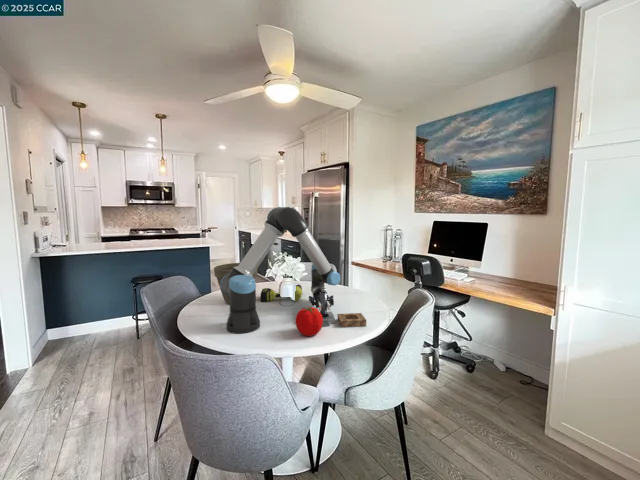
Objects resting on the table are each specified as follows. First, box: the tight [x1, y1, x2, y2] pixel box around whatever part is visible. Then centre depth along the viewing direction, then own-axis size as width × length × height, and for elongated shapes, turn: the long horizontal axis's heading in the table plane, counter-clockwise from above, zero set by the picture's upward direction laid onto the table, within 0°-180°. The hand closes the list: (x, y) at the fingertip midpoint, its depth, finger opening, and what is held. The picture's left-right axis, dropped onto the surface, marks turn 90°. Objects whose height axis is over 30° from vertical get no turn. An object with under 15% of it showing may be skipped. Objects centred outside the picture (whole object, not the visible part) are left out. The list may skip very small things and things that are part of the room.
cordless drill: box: [260, 284, 303, 303], centre depth 189 cm, size 7×25×25 cm
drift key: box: [322, 323, 331, 328], centre depth 139 cm, size 8×2×1 cm, turn 111°
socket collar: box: [322, 311, 336, 325], centre depth 147 cm, size 10×10×2 cm
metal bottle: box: [319, 287, 328, 317], centre depth 146 cm, size 4×4×16 cm
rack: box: [336, 312, 367, 328], centre depth 143 cm, size 12×10×3 cm
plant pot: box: [213, 262, 258, 305], centre depth 177 cm, size 25×25×22 cm
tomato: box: [295, 306, 323, 337], centre depth 131 cm, size 12×13×12 cm
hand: (324, 307), depth 141 cm, fingers closed on metal bottle, 4 cm apart
